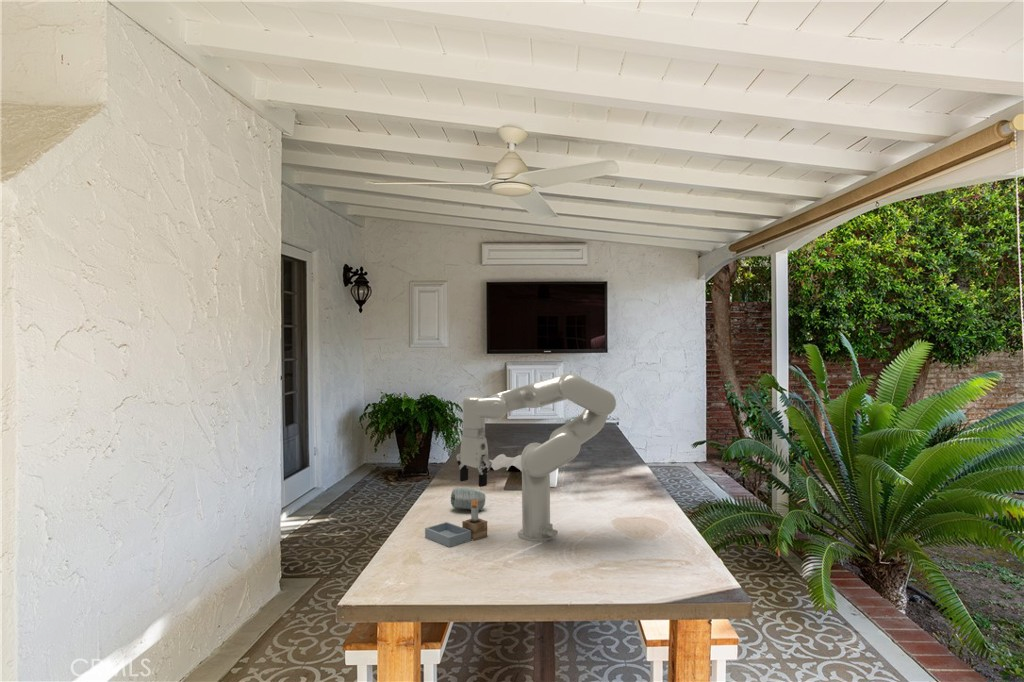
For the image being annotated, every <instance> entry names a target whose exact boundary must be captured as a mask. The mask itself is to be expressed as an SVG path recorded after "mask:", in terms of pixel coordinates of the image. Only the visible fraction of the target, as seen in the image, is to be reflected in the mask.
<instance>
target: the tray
mask: <svg viewBox="0 0 1024 682" xmlns="http://www.w3.org/2000/svg"><path fill="white" fill-rule="evenodd" d="M424 538H425V539H428V540H431V541H433V542H436V543H438V544H440V545H443V546H446V547H448V548H451V547H455V546H458V545H460V544H464V543H467V542H469V541H472V539H471V530H468V529H465V528H462V526H460V525H457V524H454V523H451V522H448V521H446V522H442V523H438V524H435V525H432V526H428V527H425V528H424Z"/></svg>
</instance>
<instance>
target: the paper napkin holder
mask: <svg viewBox="0 0 1024 682" xmlns="http://www.w3.org/2000/svg"><path fill="white" fill-rule="evenodd" d="M521 456H522V454H518V455H516V456H515V457H511V456H507V455H506V454H504V453H501V454H498V455H497V456H495V458H494V459H489V460H490V461H491V462H492V465H491V468H492V469H493V470H494V471H498V470H500V469H502V468H506V471H508V470H509V469H510V468H511V466H514V467H515V468H516V469H518V470H520V472H521V473H522V465H521Z"/></svg>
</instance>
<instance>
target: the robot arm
mask: <svg viewBox="0 0 1024 682" xmlns="http://www.w3.org/2000/svg"><path fill="white" fill-rule="evenodd" d="M565 400H568V401H570V402H572V403H574V404H576V405H578V406H579V407H582V408H583V409H584V410H583V412H581V414H579V415H578V416H577V417H575V418H574V419H572V420H570V421H569V422H567V423H566V424H564V425H562V426H560V427H558V428H556V429H554V430H553V431H552V432H551V433H550V436H549V439H548V440H546V441H544V442H543V443H540V442H531V443H528V444H527V445H526V446H525V447H524V448H523V450H522V452H521V455H522V456H521V465H522V472H521V482H522V483H521V495H522V496H521V497H522V498H521V500H522V501H521V503H522V504H521V505H522V507H521V508H522V511H521V512H522V513H521V515H522V521H521V522H522V523H521V525H522V527H521V529H519V531H518V532H517V536H518V538H520V539H521V540H525V541H528V542H543V543H545V542H548V541H549V542H550V541H551V540H553V539H555V538H556V536H557V535H558V534H559V531H558V530H557V529H553V528H554V527H553V524H552V523H551V473H553V472H555V471H557V470H559V468H562V467H563V466H565V465H566V464H567V463H569V462H571V461H573V460H574V459H575V458H576V457H577V456H578V455H579V453H580V450H581V447H582V446H581V445H583V444H584V443H586V442H588V441H589V440H590V439H592V438H593V437H595V436H596V435H598V433H599V432H600V431H601V430H602V429H603V428H604V426H605V424H606V422H607V420H608V416H609V415H611V414H612V413H613V412H614V411H615V409H616V407H617V401H616V398H615V396H614V394H612V392H610V391H609V390H606V389H604V387H600V386H598V385H596V384H594V383H592V382H590V381H589V380H587V379H584V378H583V377H581V376H580V375H577V374H574V373H572V372H571V373H569V372H568V373H564V374H560V375H558V376H553V377H550V378H548V379H543V380H540V381H536V382H532V383H530V384H526V385H523V386H519V387H515V388H512V389H508V390H505V391H501V392H498V393H494V394H492V395H490V396H489V397H483V396H478V395H469V396H465V397H464V398H463V399H462V436H461V442H460V450H459V451H460V453H457V454H456V457H455V458H456V463H457V465H458V469H459V481H460V482H466V481H468V480H469V468H470V467H471V468H475V469H477V470H478V472H479V474H478V487H480V488H481V487H486V486H487V484H488V474H489V472H490V471H491V468H492V467H491V465H492V462H491V461H490V460H491V459H489V448H488V442H487V437H486V419H492V420H500V419H502V418H504V417H505V416H506V415H507V413H511V412H513V411H517V410H522V409H527V408H528V409H533V408H534V409H536V408H537V409H538V408H543V407H545V406H549V405H552V404H555V403H558V402H562V401H565ZM468 467H469V468H468Z"/></svg>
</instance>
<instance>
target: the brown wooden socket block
mask: <svg viewBox="0 0 1024 682" xmlns="http://www.w3.org/2000/svg"><path fill="white" fill-rule="evenodd" d="M461 524H462V526H461V527H462V528H465V529H468V530H471V541H472V540H473V541H476V540H480V539H482V538H486V537H488V520H485V519H482V518H479V517H478V522H477V523H472V522H471V518H469V519H466V520H462V522H461Z"/></svg>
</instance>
